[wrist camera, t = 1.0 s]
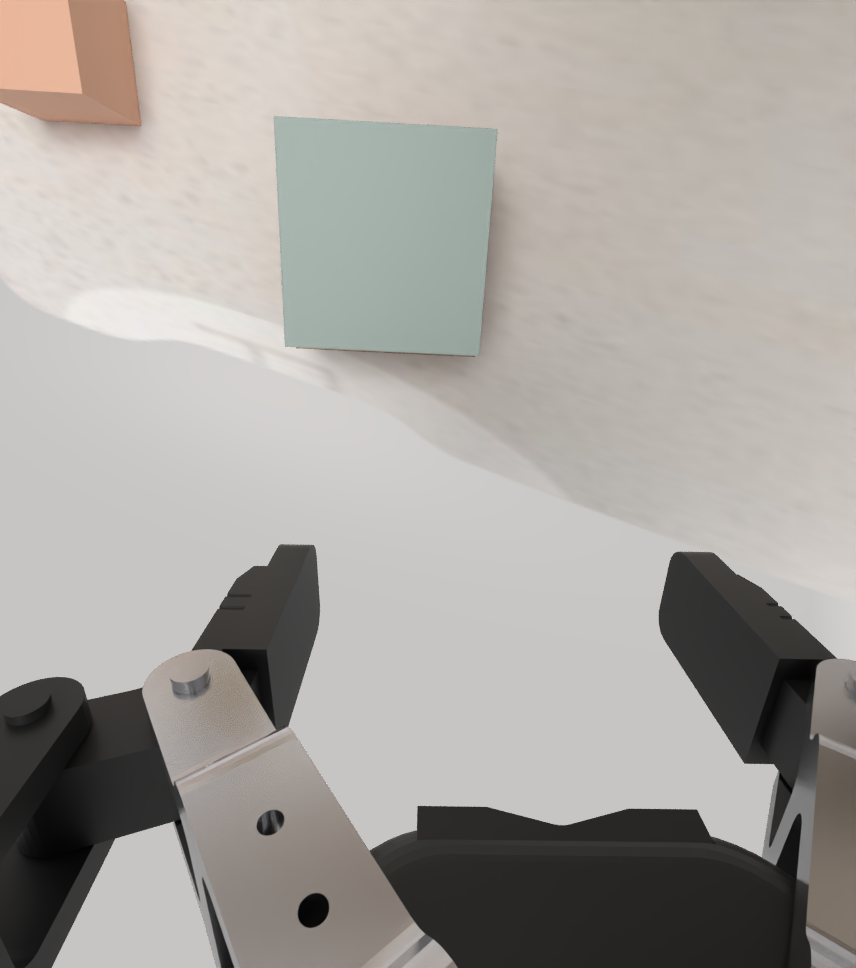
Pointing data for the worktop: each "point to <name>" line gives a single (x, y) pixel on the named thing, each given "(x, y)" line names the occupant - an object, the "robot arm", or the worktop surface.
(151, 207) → the worktop surface
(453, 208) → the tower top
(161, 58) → the worktop surface
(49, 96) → the terracotta cube
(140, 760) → the robot arm
